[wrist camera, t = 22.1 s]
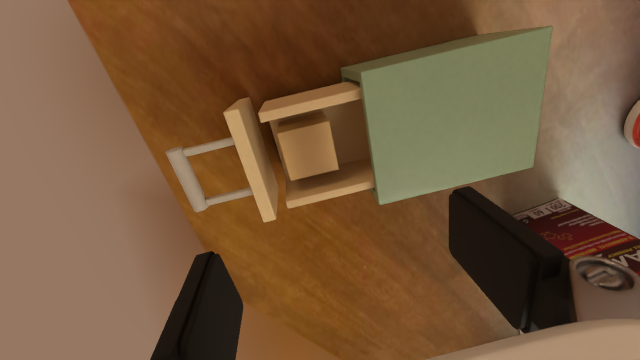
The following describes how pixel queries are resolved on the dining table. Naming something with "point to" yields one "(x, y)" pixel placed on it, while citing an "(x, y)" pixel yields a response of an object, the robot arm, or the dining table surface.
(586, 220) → the supplement box
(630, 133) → the pill bottle
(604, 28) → the dining table surface
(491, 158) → the cabinet
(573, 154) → the dining table surface
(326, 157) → the block
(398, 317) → the dining table surface
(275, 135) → the drawer
